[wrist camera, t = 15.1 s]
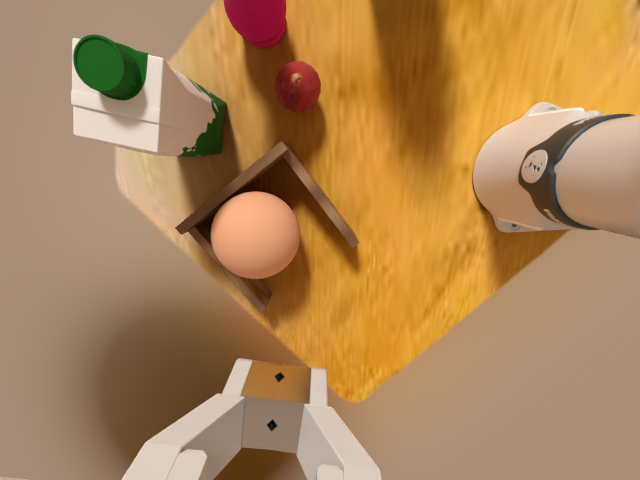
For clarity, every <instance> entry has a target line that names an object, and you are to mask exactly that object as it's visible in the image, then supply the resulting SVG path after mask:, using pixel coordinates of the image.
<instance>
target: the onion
mask: <svg viewBox="0 0 640 480" xmlns="http://www.w3.org/2000/svg"><path fill="white" fill-rule="evenodd" d="M320 88H321V82H320V79H319V76H318V74H317V72H316V71H315V70H314V69H313V68H312V67H311V65H309V64H307V63H305V62H302V61H292V62H290V63H288V64H285V65H284V66H283V68H282V69H281V70H280V71H279V73H278V76H277V78H276V88H275V89H276V93H277V96H278V99H279V101H280V102H281V103H282V104H283V106H284V107H285V108H287V109H289V110H291V111H293V112H304V111H306V110H308V109H310V108H311V107H312V106H313V105H314V104H315V103H316V102H317V100H318V97H319V94H320Z"/></svg>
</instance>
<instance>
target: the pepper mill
mask: <svg viewBox="0 0 640 480" xmlns="http://www.w3.org/2000/svg"><path fill="white" fill-rule="evenodd" d="M224 6H225V10H226V13H227V16H228V18H229V20H230V22H231V24H232V26H233V27H234V29H235V30H236V31H237V32H238V33H239V34H240V35H242V36H243V37H245V39H246V40H247V41H248V42H249V43H250V44H252V45H254V46H256V47H259V48H269V47H272V46H274V45H275V44H277V43H278V42H279V41H280V39H281V38H282V36H283V34H284V32H285V28H286V17H285V15H286V0H224Z"/></svg>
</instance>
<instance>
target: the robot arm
mask: <svg viewBox="0 0 640 480" xmlns="http://www.w3.org/2000/svg"><path fill="white" fill-rule="evenodd" d="M473 184H474V189H475V192H476V195H477V197H478V199H479V201H480V202H481V204H482V205H483V206H484V207H485V208H486V209H487V210H488V211H489V212H490V213H491V215H492V216H493V220H494V223H495V225H496V227H497V229H498V230H499V231H501V232H506V233H511V232H529V231H548V230H567V229H586V230H605V231H609V232H614V233H618V234H622V235H626V236H630V237H634V238H638V239H640V115H636V116H635V115H631V114H614V115H612V114H605V115H601V112H599V111H588V112H585V111H584V109H583V108H571V109H563V108H560V107H558V106H555V105H553V104H550V103H548V102H541V103H537V104H535V105H533V106H532V107H531V108H530V109H529V110H528V111H527V112H526V113H525V114H524V115H523V116H522V117H521V118H520V119H518V120H516V121H514V122H512V123H510V124H508V125H506V126H504V127H502V128H501V129H499V130H498V131H497V132H495V133H494V134H493V135H492V136H491V137H490V138H489V139H488V140H487V141H486V143H485V144H484V145H483V147H482V149H481V150H480V152H479V154H478V156H477V159H476V162H475V165H474V171H473ZM512 224H515V225H514V226H512ZM241 447H246V448H258V449H270V450H277V451H283V452H290V453H297V457H298V459H299V461H300V464H301V466H302V468H303V471H304V473H305V475H306V478H307V480H382V479H381V474H380V469H379V468H378V467H377V465H376V464H375V463H374V461H373V460H372V459H371V458H370V456H369V455H368V454H367V452H366V451H365V450H364V448H363V447H362V446H361V445H360V443H359V442H358V441H357V439H356V438H355V437H354V435H353V434H352V433H351V431H350V430H349V429H348V427H347V426H346V425H345V424H344V422H343V421H342V420H341V418H340V417H339V416H338V414H337V413H336V412H335V410H334V409H333V408H332V407H328V404H327V370H326V369H324V368H313V367H311V368H309V367H300V366H291V365H283V364H277V363H270V362H263V361H256V360H248V359H241V358H239V359H238V360H237V361H236V363H235V365H234V367H233V370H232V372H231V374H230V377H229V379H228V381H227V383H226V386H225V388H224V390H223V393H222V394H216V395H215V396H213V397H212V398H210V399H209V400H207V401H206V402H204V403H203V404H201V405H200V406H198V407H197V408H195V409H194V410H192V411H191V412H190V413H188V414H187V415H185V416H184V417H183V418H181V419H179V420H178V421H176V422H175V423H173V424H172V425H170V426H169V427H167V428H166V429H164V430H163V431H161V432H160V433H159V434H157V435H156V436H154V437H153V438H151V439H150V440H148V441H147V442H145V444H144V445H143V447H142V449H141V450H140V452H139V453H138V455H137V457H136V458H135V460H134V461H133V463H132V464H131V466H130V467H129V469H128V471H127V472H126V474H125V475H124V477H123V478H122V480H213V479H214V478H215V477H216V476H217V474H219V473H220V471H221V470H222V469H223V468H224V467H225V466H226V465H227V464H228V463H229V461H230V460H231V459H232V458H233V457H234V456H235V455H236V454H237V453H238V451H239V450H240V449H241ZM0 480H31V479H22V478H13V477H3V476H0Z"/></svg>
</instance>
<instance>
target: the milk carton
mask: <svg viewBox="0 0 640 480" xmlns="http://www.w3.org/2000/svg"><path fill="white" fill-rule="evenodd" d="M71 103H72V105H74V135H77V136H81V137H84V138H88V139H92V140H96V141H100V142H103V143H107V144H111V145H114V146H118V147H122V148H125V149H130V150H134V151H139V152H144V153H148V154H153V155H162V156H188V157H194V156H203V155H212V154H220V152H221V144H222V135H223V127H224V118H225V110H226V103H225V102H224V101H222V100H221V99H219V98H218V97H216V96H215V95H213V94H212V93H210V92H209V91H207V90H206V89H204V88H203V87H201V86H200V85H198V84H197V83H195V82H193V81H192V80H190V79H189V78H187V77H185V76H184V75H182V74H180V73H179V72H177V71H176V70H174V69H172V68H171V67H170V66H169V65H168V64H167V62H166V61H165V60H164V59H163V58H160V57H155V56H150V55H148V53H144V52H140V51H136V50H134V49H132V48H130V47H127V46H125V45H122V44H119V43H115V42H113V41H111V40H110V39H108V38H106V37H104V36H100V35H88V36H85V37H84V38H82V39H77V38H73V39H72V91H71Z"/></svg>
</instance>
